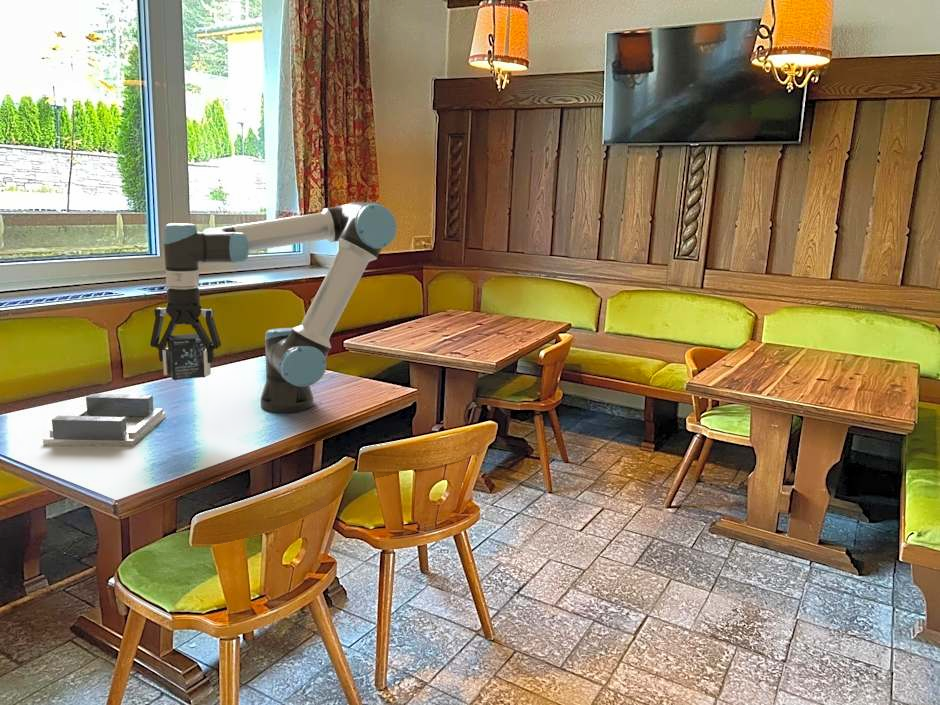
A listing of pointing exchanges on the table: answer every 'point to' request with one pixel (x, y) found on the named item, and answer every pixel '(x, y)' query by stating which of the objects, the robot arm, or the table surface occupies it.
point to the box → (185, 356)
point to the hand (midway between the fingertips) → (187, 374)
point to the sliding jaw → (119, 405)
